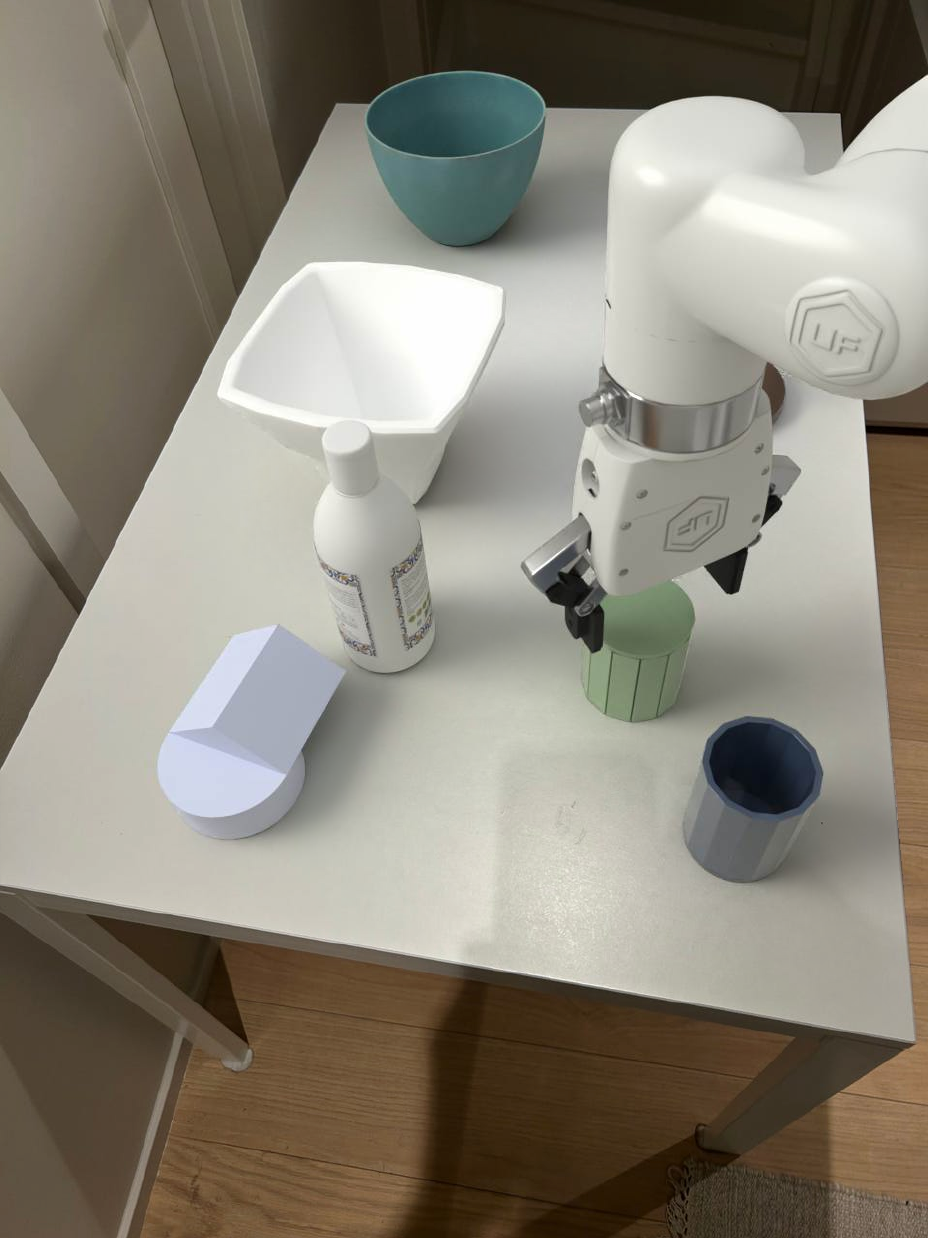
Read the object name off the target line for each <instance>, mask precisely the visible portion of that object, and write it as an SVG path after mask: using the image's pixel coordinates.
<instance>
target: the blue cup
mask: <svg viewBox="0 0 928 1238" xmlns="http://www.w3.org/2000/svg"><path fill="white" fill-rule="evenodd" d="M823 778H824V769H823V767H822V764H821V761H820V758H819V755H818V752H817V749H816V748H815V747H814V746H813V745H812V744H811V743H810V742H809V740H808V739H807V738H805V737H804V735H802V733H801V732H800V731H799V730H797V729H796V728H794V727H792V726H790V725H787V724H786V723H784V722H782V721H779V720H777V719H775V718H772V717H763V716H762V717H761V716H751V715H747V716H742V717H739V718H736V719H733V720H729V721H726V722H724V723H721V725H720V726H719V727H718V728H717V729H716V730H715V731H714V732H713V733H712V734H710V736H709V737H708V738H707V739H706V743H705V746H704V749H703V753H702V756H701V759H700V763H699V766H698V769H697V772H696V775H695V779H694V782H693V786H692V789H691V793H690V796H689V800H688V802H687V806H686V810H685V813H684V817H683V821H682V833H683V838H684V839H683V840H684V843H685V845H686V847H687V850H688V852H689V853H690V855H691V856H692V858H693V859H694V860H695V862H697V864H698V865H699V866H700V867H701V868H703V869H704V870H705V871H706V872H708V873H709V874H711V875H713V876H715V877H717V878H719V879H722V880H724V881H729V882H732V883H733V882H734V883H752V882H756V881H759V880H762V879H764V878H767V877H768V876H770V875H772V874H773V873H774V872H775V871H776V870H777V869H778V868H779V867H780V865H781V864H782V862H783V861H784V860H785V859H786V858H787V856H788V854H789V852H790V850H791V849H792V847H793V845H794V843H795V841H796V840H797V837H799V834H800V832H801V831H802V828H803V827H804V825H805V823H806V821H807V819H808V817H809V815H810V814H811V812H812V810H813V809H814V807H815V805H816V803H817V801H818V800H819V797H820V795H821V789H822V786H823V785H822V784H823Z"/></svg>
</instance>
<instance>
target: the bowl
mask: <svg viewBox="0 0 928 1238" xmlns="http://www.w3.org/2000/svg"><path fill="white" fill-rule="evenodd" d="M506 302H507V290H506V289H504V288H503V287H501V286H499V285H495V284H493V283H489V282H485V281H482V280H479V279H475V278H473V277H469V276H466V275H462V274H457V273H451V272H446V271H440V270H435V269H430V268H424V267H419V266H414V265H407V264H397V263H395V264H394V263H393V264H392V263H381V262H379V263H378V262H366V261H321V262H320V261H317V262H315V261H313V262H309V263H307V264H306V265H305V266H303V268H301V269H300V270H299V271H298V272H296V274H294V275H293V276H292V277H291V278H289V279H288V280H287V281H286V282H285V283H283V284H282V285H281V286H280V288H279V289H278V290H277V292H276V293H275V294H274V296H273V297H272V298H271V299H270V301H269V303H267V305H266V306H265V307H264V309H263V311H262V312H261V313H260V315H259V316H258V317H257V319H256V320H255V321H254V323H253V324H252V326H251V327H250V328H249V330H248V331H247V333H246V334H245V336H244V337H243V339H242V340H241V342H240V343H239V345H238V346H237V347H236V348H235V350H234V352H233V353H232V355H231V356H230V358H229V359H228V360H227V362H226V366H225V369H224V372H223V374H222V376H221V377H222V378H221V381H220V385H219V386H218V390H217V397H218V400H219V401H221V403H223V404H224V405H226V406H227V407H229V408H230V409H232V410H233V411H234V412H235V413H237V414H239V415H240V416H242V417H243V418H244V419H246V421H249V422H250V423H251V424H253V425H254V426H255V427H257V428H258V429H259V430H261V431H262V432H264V433H265V434H267V435H268V436H270V438H272V439H274V440H275V441H277V442H278V443H280V444H281V445H282V446H284V447H285V448H287V449H289V450H292V451H294V452H297V453H299V454H302V455H304V456H306V457H308V458H309V459H310V460H311V462H312V464H313V465H314V466H315V467H316V468H317V470H318V471H319V472H320V474H321V475H322V476H323V478H324V479H325V480H326V482H327V483H328V484H329V483H330V481H331V478H330V474H329V470H328V466H327V462H326V458H325V454H324V450H323V445H322V437H323V434H324V432H325V431H326V430H327V428H329V427H330V426H331V425H333V424H335V423H337V422H340V421H344V420H355V421H359V422H362V423H364V424H365V425H367V426H368V428H369V429H370V431H371V433H372V438H373V443H374V448H375V454H376V459H377V465H378V471H379V472H381V473H382V474H384V475H385V476H387V477H388V478H390V479H391V480H393V481H394V482H395V483H396V484H397V485H399V486H400V487H401V489H402V490H403V491H404V492H405V493H406V494H407V496H408V497H409V499H410V500H411V502H412V504H413V505H416V504H417V503H418V502H419V501H420V500H421V498H422V497H423V496H424V495H425V493H427V491H428V489H429V487H430V485H431V483H432V481H433V479H434V477H435V476H436V475H435V474H436V473H437V470H438V468H439V467H440V464H441V461H442V459H443V457H444V455H445V451H446V450H445V449H446V446H447V442H448V441H449V439H450V437H451V435H452V433H453V432H454V430H455V428H456V426H457V424H458V423H459V421H460V419H461V417H462V415H463V413H464V412H465V410H466V408H467V407H468V405H469V403H470V400H471V397H473V394H474V392H475V390H476V388H477V386H478V384H479V381H480V379H481V377H482V375H483V373H484V371H485V369H486V368H487V365H488V363H489V361H490V358H491V356H492V354H493V352H494V349H495V347H496V345H497V343H498V340H499V337H500V335H501V333H502V331H503V329H504V326H505V323H506V321H505V320H506V305H507V303H506Z"/></svg>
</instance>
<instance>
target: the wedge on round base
mask: <svg viewBox="0 0 928 1238" xmlns="http://www.w3.org/2000/svg"><path fill="white" fill-rule="evenodd" d="M346 672H347V670H346V669H345V668H344V667H342V666H340V665H339V664H337V663H336V662H334V661H333V660H331V659H330V658H329V657H327V656H326V655H324V654H322V653H321V652H320V651H318V649H315V648H314V647H313V646H312V645H310V644H308V642H305V641H304V640H303V639H301V638H300V637H298V636H297V635H295V634H294V633H292V631H290V630H288V629H287V628H285V627H283V626H282V625H281V624H280V623H277V624H272V625H269V626H264V627H260V628H256V629H252V630H249V631H244V632H240V633H236V634H234V635H232V637H231V639H230V640H229V642H228V643H227V645H225V647H224V649H223V651H222V652H221V654H220V655H219V657H217V659H216V661H215V662H214V664H213V665H212V667H211V668H210V670H209V671H208V672H207V674H206V676H205V677H204V679H203V681H202V682H201V683H200V685H199V686H198V688H197V689H196V691H195V692H194V694H193V695H192V696H191V698H190V700H189V701H188V703H187V704H186V705H185V707H184V709H183V710H182V712H181V713H180V714H179V716H178V717H177V719H176V721H174V724H173V725H172V727H171V728H170V729H169V731H168V733H167V734H166V736H165V738H164V739H163V742H162V744H161V746H160V749H159V751H158V752H159V753H158V756H157V764H156V772H157V778H158V779H157V780H158V782H159V783H158V784H159V785H160V788H161V790H162V791H163V793H164V795H165V796H166V798H167V799H168V800H169V803H171V805H172V806H173V808H174V809H175V810H176V812H177V814H178V815H179V816H180V818H181V819H182V820H183V822H184V823H185V824H186V825H187V826H188V827H190V828H191V829H192V830H193V831H195V832H197V833H198V834H200V835H203V836H206V837H208V838H211V839H218V840H225V841H226V840H227V841H228V840H239V839H244V838H247V837H251V836H255V835H257V834H259V833H262V832H265V830H267V829H269V828H270V827H272V826H274V825H275V824H276V823H279V821H280V820H281V819H282V818H284V816H286V815H287V814H288V812H289V811H290V810H291V809H292V808H293V806H294V805H295V803H296V801H297V800H298V799H299V796H300V794H301V792H302V789H303V786H304V783H305V777H306V762H305V761H306V760H305V757H304V753H303V750H302V749H303V748H304V746H305V744H306V742H307V740H308V738H309V737H310V736H311V733H312V731H313V729H314V728H315V726H316V725H317V723H318V722H319V719H320V717H321V716H322V714H323V712H324V711H325V709H326V708H327V705H328V703H329V702H330V701H331V698H332V697H333V695H334V693H335V691H336V689H337V688H338V687H339V684H340V682H341V681H342V679H343V677H344V675H345V674H346Z"/></svg>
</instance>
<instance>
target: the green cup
mask: <svg viewBox="0 0 928 1238" xmlns="http://www.w3.org/2000/svg"><path fill="white" fill-rule="evenodd" d="M599 604H600V605H601V607H602V608H603V610H604V614H605V615H604V634H603V647H602V648H601V650H600V651H598V652H596V653H593V654H592V653H591V652H590V650H589V649H588V647H587V646H586V644H585V643H584V642H583V643H582V644H583V646H582V648H583V649H582V657H581V658H582V659H581V671H580V672H581V673H580V679H581V682H582V683H581V684H582V686H583V690H584V694H585V697H586V698H587V700H588V701H589V702H590V703H591V704H592V705H593V706H594V707H596V708H597V710H598V711H600V712H601V713H602V714H603V715H605V716H607V717H610V718H614V719H617V720H621V721H624V722H627V723H630V722H631V723H636V722H637V723H638V722H643V721H648V720H653V719H656V718H659V717H660V716H661V715H662V714H664V713H665V712H666V711H668V710H669V709H670V708H671V707H672V706H674V705H675V703H676V702H677V699H678V695H679V691H680V688H681V686H682V685H681V684H682V680H683V677H684V673H685V672H684V671H685V668H686V663H687V658H688V655H689V651H690V646H691V641H692V636H693V633H694V628H695V624H696V613H695V608H694V604H693V602H692V599H691V598H690V596H689V595H688V593H687V592H686V591H685V590H684V588H682V587H681V586H680V585H679V584H678V583H676V582H675V581H673V579H671V580H669V581H666V582H664V583H661V584H659V585H656V586H654V587H651V588H648V589H646V590H643V591H640V592H638V593H634V594H630V595H625V596H613V595H609V594H607V595H606V596H605V597H604V599H603V600H602V601H601V602H600V603H599Z"/></svg>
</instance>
